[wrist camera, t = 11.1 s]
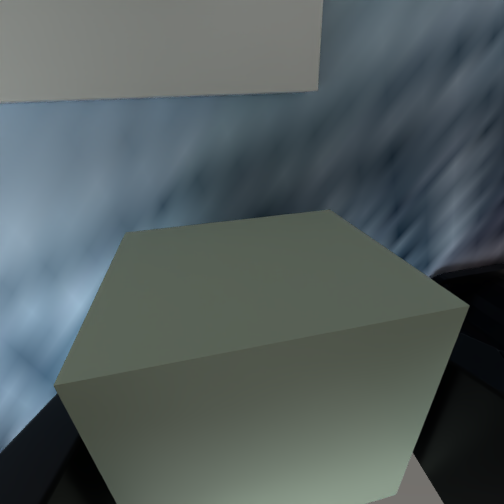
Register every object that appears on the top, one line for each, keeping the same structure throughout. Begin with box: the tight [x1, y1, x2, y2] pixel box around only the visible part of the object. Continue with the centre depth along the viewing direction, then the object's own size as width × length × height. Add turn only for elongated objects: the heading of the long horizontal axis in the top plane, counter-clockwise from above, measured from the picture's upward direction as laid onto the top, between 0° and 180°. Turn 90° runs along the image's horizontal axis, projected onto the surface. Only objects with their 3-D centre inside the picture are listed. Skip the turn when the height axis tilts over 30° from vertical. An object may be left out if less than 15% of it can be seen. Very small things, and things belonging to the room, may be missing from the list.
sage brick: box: [54, 210, 470, 504], centre depth 7 cm, size 6×6×4 cm
